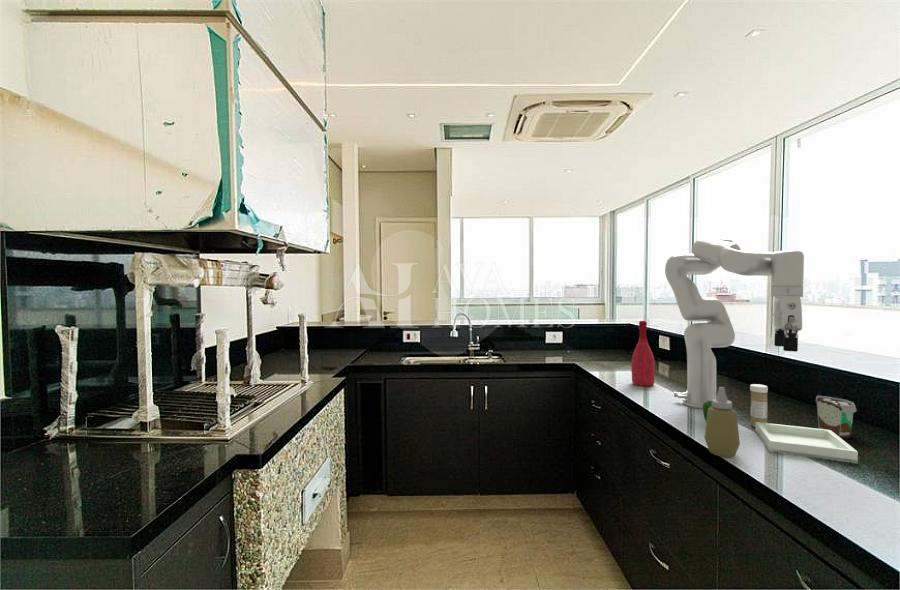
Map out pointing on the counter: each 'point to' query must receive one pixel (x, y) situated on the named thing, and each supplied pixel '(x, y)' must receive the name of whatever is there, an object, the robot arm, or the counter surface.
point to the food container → (835, 415)
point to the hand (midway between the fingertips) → (785, 348)
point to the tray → (805, 442)
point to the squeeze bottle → (722, 427)
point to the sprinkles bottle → (758, 403)
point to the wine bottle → (643, 360)
